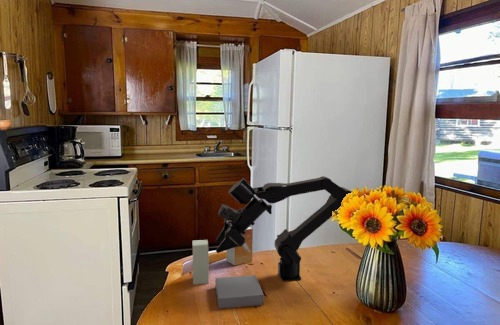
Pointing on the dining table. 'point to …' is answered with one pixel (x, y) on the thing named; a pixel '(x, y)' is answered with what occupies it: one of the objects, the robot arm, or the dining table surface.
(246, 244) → the small box
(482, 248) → the dining table surface
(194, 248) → the sage block
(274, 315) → the dining table surface
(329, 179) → the robot arm
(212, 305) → the dining table surface
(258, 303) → the plinth
